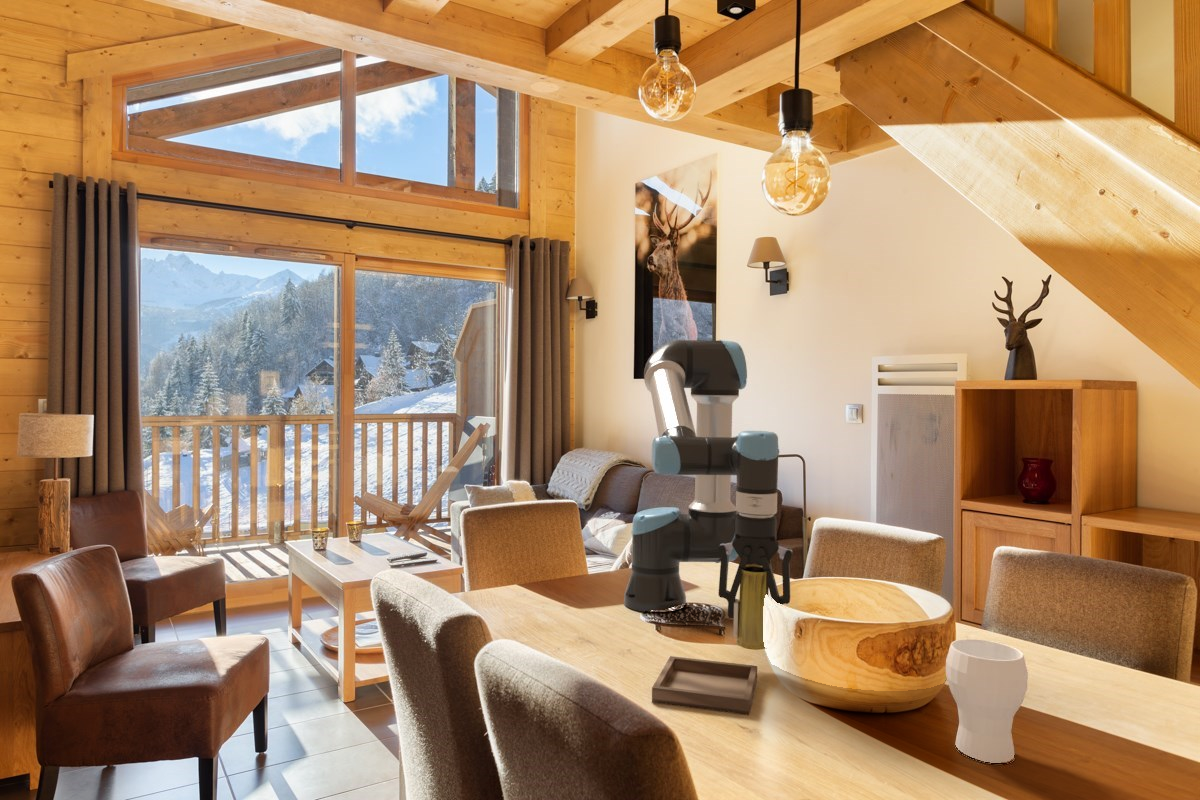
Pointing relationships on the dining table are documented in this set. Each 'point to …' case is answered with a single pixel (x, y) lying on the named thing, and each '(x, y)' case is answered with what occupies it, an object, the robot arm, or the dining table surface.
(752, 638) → the vase
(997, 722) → the cup
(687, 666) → the walnut tray
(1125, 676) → the dining table surface
